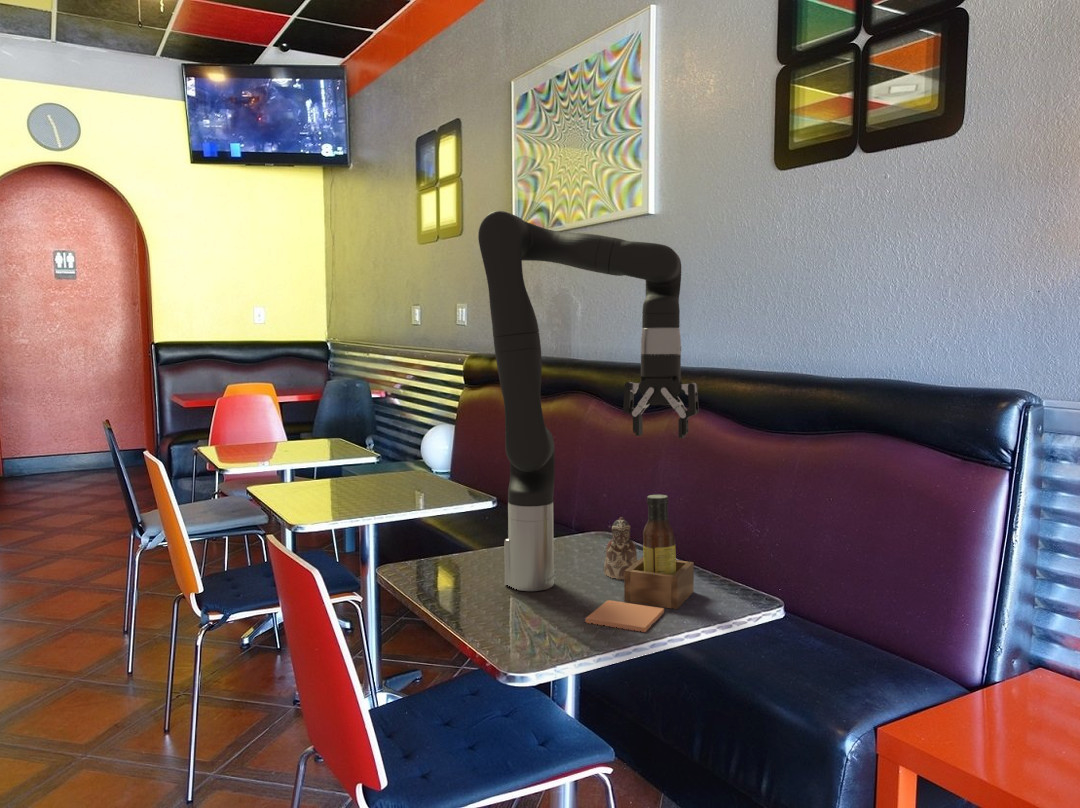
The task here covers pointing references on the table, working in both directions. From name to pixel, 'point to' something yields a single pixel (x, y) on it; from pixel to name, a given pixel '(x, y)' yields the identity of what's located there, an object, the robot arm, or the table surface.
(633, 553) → the figurine
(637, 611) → the terracotta mat
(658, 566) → the sauce bottle
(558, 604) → the table surface
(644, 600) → the square holder
